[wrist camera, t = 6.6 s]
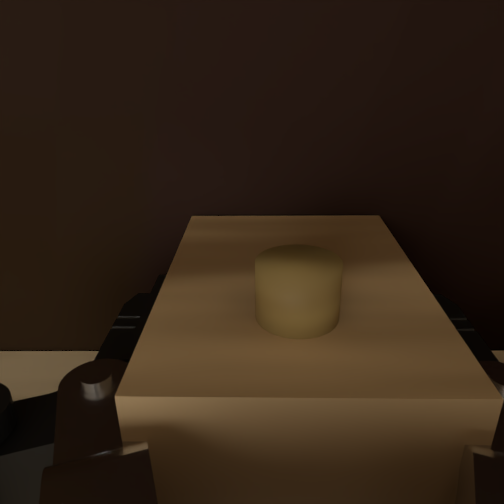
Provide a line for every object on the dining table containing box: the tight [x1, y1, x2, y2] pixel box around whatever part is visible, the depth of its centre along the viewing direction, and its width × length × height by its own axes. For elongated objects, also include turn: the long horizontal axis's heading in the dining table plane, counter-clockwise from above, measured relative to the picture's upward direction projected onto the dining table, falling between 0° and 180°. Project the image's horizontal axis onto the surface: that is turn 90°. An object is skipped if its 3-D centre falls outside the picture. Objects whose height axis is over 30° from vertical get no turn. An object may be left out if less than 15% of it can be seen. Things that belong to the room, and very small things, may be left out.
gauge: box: [115, 215, 504, 504], centre depth 11 cm, size 14×5×7 cm, turn 1°
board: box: [0, 351, 504, 401], centre depth 15 cm, size 10×28×2 cm, turn 91°
